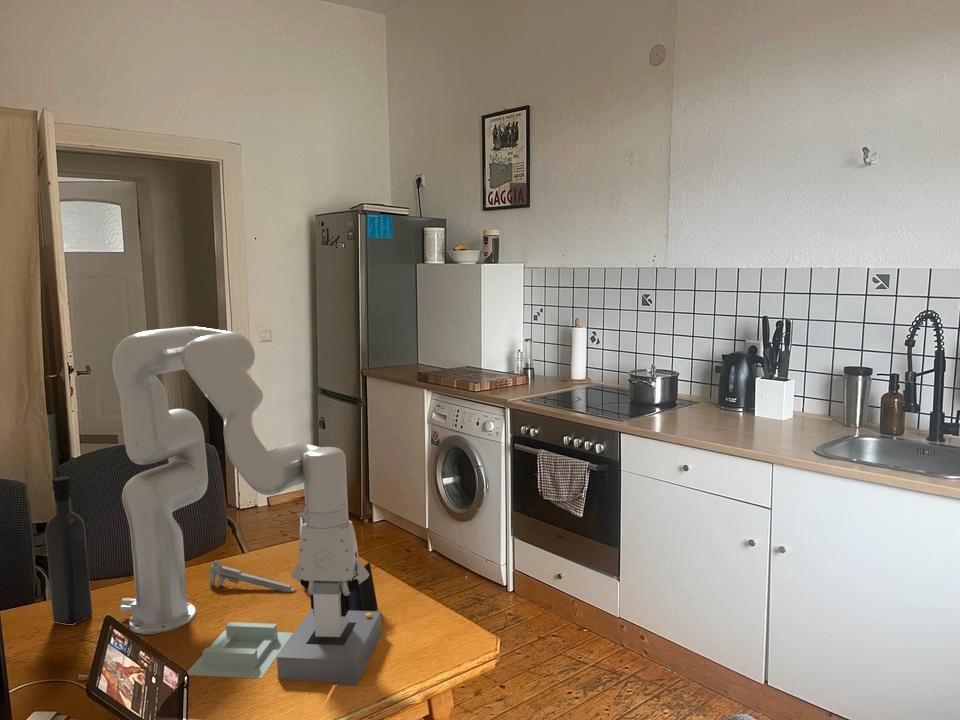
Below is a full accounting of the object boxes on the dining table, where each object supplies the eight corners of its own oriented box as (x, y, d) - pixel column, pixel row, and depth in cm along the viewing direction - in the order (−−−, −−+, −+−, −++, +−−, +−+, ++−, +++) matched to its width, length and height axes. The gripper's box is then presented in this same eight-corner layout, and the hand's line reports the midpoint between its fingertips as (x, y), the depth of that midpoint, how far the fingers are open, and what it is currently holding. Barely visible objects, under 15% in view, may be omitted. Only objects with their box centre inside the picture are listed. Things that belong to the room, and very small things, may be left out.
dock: (278, 682, 128) (276, 653, 128) (311, 631, 146) (310, 606, 145) (356, 685, 127) (355, 657, 126) (381, 633, 145) (380, 608, 144)
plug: (315, 636, 133) (312, 583, 132) (325, 620, 139) (323, 569, 138) (339, 637, 132) (337, 583, 131) (349, 621, 138) (346, 570, 137)
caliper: (210, 587, 167) (208, 561, 167) (212, 585, 168) (210, 559, 168) (294, 593, 164) (293, 566, 163) (296, 591, 165) (295, 564, 164)
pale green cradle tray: (184, 677, 130) (183, 658, 130) (225, 632, 146) (223, 615, 145) (261, 681, 129) (260, 661, 128) (293, 635, 144) (292, 618, 144)
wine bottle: (50, 624, 150) (37, 481, 147) (73, 611, 156) (61, 473, 152) (72, 627, 149) (59, 483, 145) (95, 615, 154) (83, 475, 150)
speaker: (386, 609, 154) (379, 562, 153) (365, 621, 150) (358, 572, 149) (362, 603, 159) (355, 556, 158) (341, 614, 155) (334, 566, 154)
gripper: (273, 523, 130) (279, 621, 132) (367, 524, 128) (372, 624, 131) (289, 509, 138) (294, 602, 140) (378, 510, 136) (381, 604, 138)
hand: (331, 611), depth 135 cm, fingers closed on plug, 4 cm apart
